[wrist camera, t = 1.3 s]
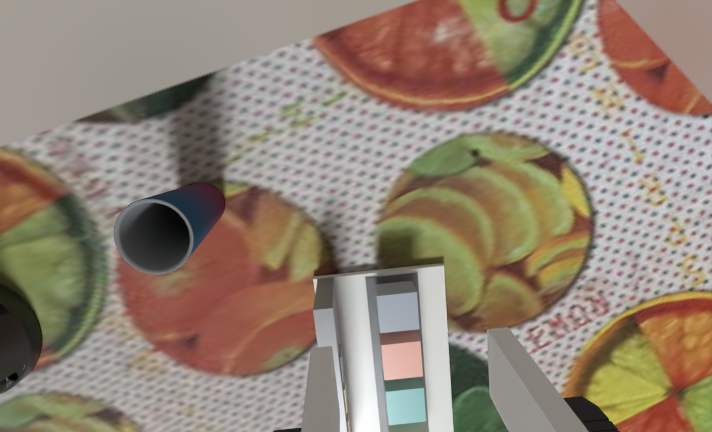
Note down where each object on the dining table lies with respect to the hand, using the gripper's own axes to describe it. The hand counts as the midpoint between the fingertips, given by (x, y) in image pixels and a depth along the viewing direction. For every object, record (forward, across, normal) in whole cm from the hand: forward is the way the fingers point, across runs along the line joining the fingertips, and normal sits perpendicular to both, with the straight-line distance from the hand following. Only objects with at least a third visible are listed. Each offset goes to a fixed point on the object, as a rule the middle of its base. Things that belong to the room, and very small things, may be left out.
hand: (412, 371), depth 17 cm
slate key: (+36, +3, -13) cm, 38 cm away
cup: (+39, -19, 0) cm, 43 cm away
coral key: (+36, +3, -19) cm, 41 cm away
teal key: (+36, +3, -25) cm, 44 cm away
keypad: (+39, +1, -22) cm, 45 cm away
